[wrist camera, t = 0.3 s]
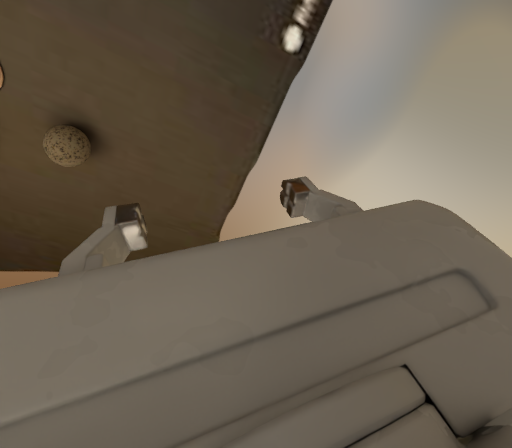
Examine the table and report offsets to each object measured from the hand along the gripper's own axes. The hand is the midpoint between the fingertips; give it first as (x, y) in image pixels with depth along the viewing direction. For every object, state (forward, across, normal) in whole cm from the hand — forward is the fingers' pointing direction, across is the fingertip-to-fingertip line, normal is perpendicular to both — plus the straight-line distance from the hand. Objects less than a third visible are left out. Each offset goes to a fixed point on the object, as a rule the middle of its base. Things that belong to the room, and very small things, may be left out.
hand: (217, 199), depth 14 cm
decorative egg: (+46, +20, +13) cm, 52 cm away
